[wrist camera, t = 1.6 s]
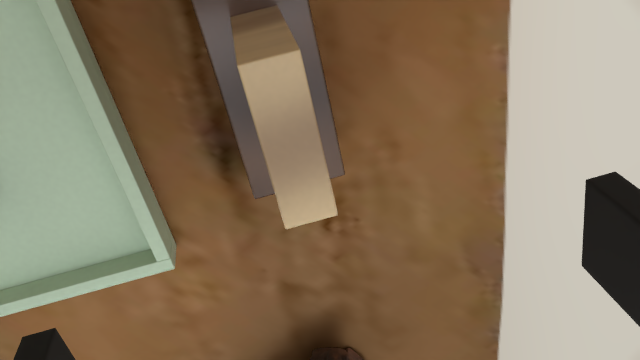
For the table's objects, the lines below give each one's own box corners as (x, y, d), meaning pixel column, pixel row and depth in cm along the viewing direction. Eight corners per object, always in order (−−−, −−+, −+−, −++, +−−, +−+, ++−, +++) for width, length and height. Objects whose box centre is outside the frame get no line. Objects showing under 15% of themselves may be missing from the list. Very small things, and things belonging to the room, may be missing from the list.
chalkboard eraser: (182, -46, 26) (170, 0, 17) (285, -71, 26) (325, -39, 17) (250, 169, 32) (267, 285, 23) (332, 147, 33) (380, 253, 24)
